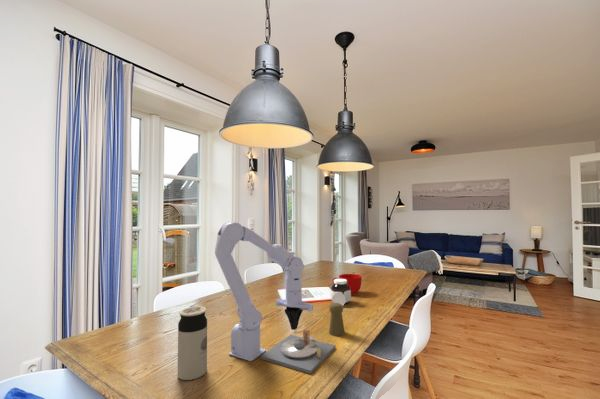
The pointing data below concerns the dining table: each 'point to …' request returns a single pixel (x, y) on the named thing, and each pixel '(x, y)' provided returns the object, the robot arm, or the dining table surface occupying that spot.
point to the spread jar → (340, 292)
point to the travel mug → (192, 343)
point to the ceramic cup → (351, 281)
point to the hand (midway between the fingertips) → (294, 328)
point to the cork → (336, 320)
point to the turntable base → (299, 364)
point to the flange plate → (300, 353)
